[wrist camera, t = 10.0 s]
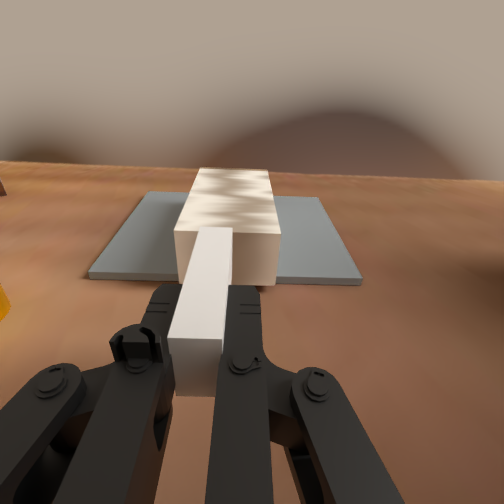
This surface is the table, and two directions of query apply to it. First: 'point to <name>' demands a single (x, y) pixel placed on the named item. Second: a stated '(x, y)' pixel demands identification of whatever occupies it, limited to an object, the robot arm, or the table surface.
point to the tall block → (233, 222)
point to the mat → (290, 252)
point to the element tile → (3, 304)
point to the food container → (2, 189)
